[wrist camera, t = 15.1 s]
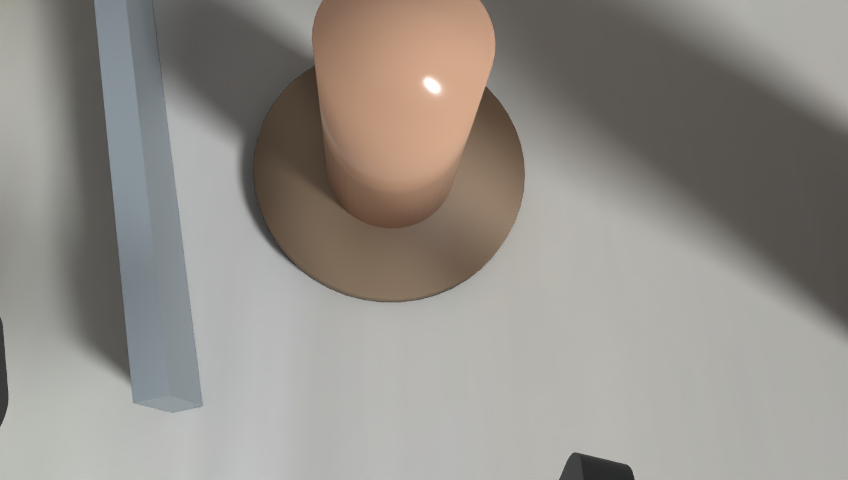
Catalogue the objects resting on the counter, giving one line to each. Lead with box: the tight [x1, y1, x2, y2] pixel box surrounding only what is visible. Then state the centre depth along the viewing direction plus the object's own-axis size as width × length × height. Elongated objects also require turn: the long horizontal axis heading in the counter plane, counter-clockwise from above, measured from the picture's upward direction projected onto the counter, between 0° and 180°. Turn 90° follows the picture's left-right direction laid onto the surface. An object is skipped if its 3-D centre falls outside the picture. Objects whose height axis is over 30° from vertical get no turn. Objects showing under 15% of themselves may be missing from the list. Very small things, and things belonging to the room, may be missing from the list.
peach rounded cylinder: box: [312, 0, 495, 228], centre depth 26 cm, size 6×6×10 cm
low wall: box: [94, 0, 203, 413], centre depth 29 cm, size 24×1×5 cm, turn 12°
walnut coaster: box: [253, 66, 525, 302], centre depth 31 cm, size 12×12×1 cm
